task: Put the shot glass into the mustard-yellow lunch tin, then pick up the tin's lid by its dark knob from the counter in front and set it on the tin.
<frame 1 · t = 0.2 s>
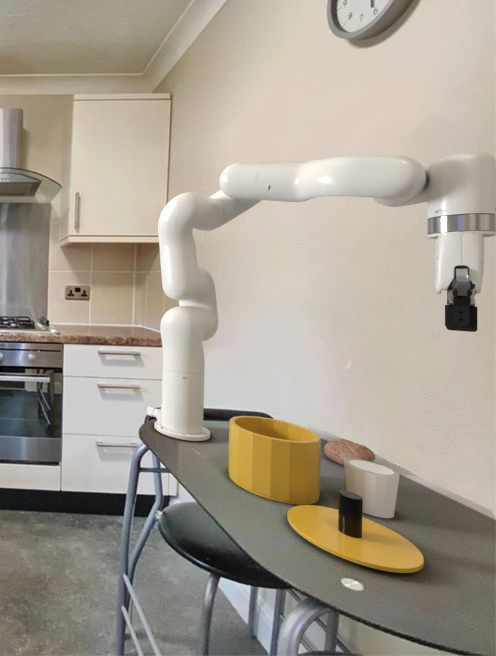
hand: (460, 329, 67), 31 cm above the table, tool pointing down, fingers open, 9 cm apart
tin: (271, 484, 75), on the table
bread roll: (348, 463, 86), on the table
lid: (349, 536, 58), point 1 cm above the table
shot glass: (370, 509, 68), on the table
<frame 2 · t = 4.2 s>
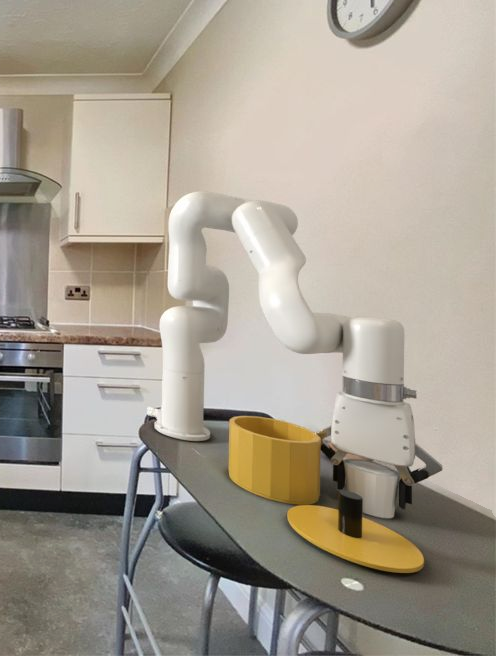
hand: (370, 495, 68), 2 cm above the table, tool pointing down, fingers closed on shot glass, 6 cm apart
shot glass: (370, 509, 68), on the table, touching gripper
everything else where it was.
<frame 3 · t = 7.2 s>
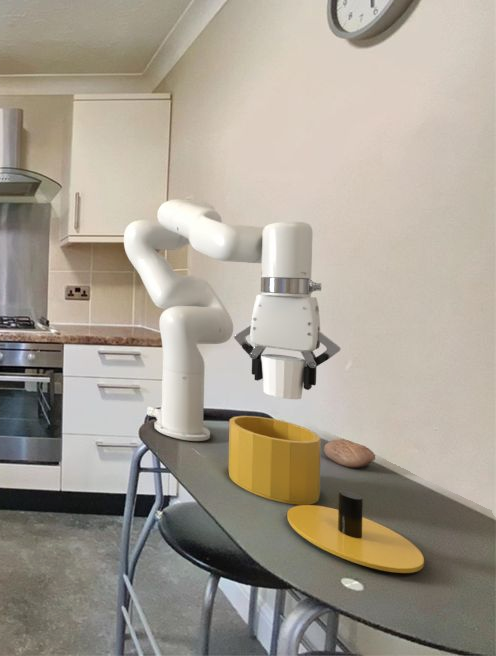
hand: (282, 383, 75), 19 cm above the table, tool pointing down, fingers closed on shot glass, 6 cm apart
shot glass: (282, 395, 75), point 17 cm above the table, touching gripper
everything else where it was.
when the fingers open (9 cm above the table, at t = 10.2 s): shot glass drops 6 cm, resting on tin.
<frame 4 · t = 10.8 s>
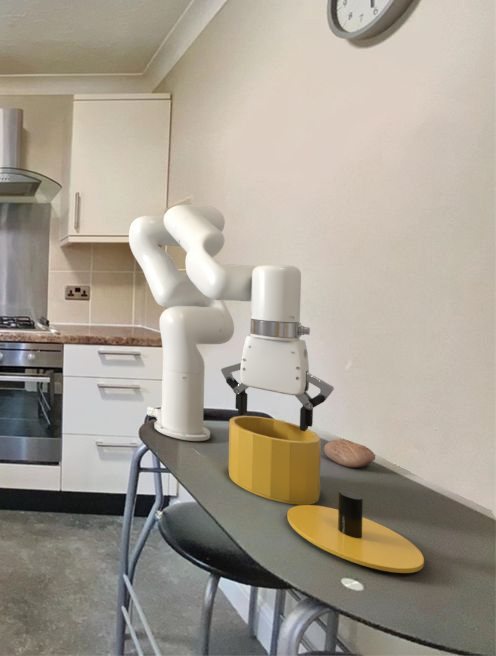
hand: (271, 421, 75), 12 cm above the table, tool pointing down, fingers open, 9 cm apart
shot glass: (269, 482, 75), resting on tin
everything else where it was.
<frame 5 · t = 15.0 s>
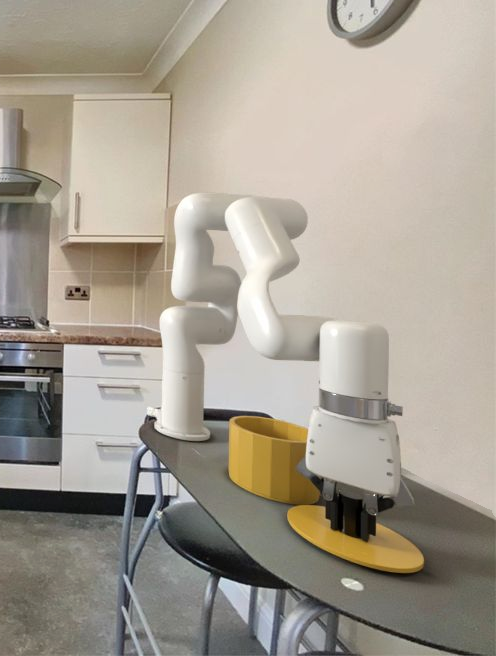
hand: (349, 530, 58), 1 cm above the table, tool pointing down, fingers closed on lid, 2 cm apart
lid: (349, 536, 58), point 1 cm above the table, touching gripper
everything else where it was.
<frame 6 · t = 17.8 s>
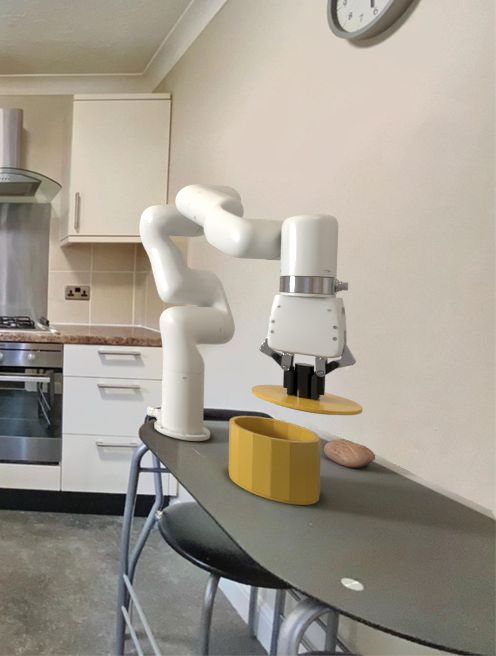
hand: (303, 395, 68), 19 cm above the table, tool pointing down, fingers closed on lid, 2 cm apart
lid: (303, 400, 68), point 18 cm above the table, touching gripper
everything else where it was.
when the fingers open (11 cm above the table, at t = 20.6 s): lid stays where it is, resting on tin.
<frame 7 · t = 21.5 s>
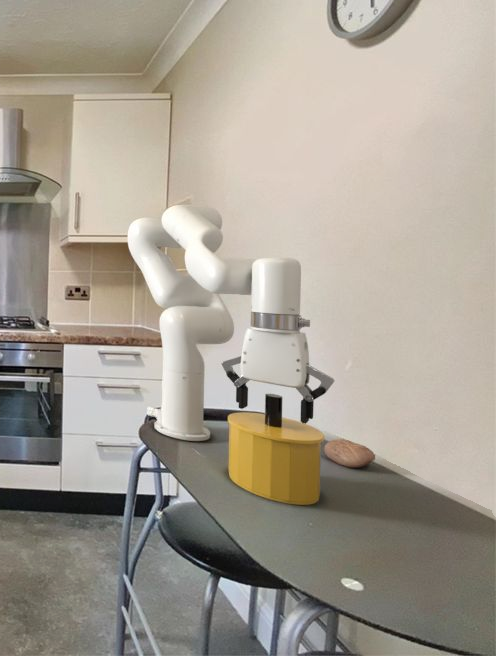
hand: (272, 414, 75), 13 cm above the table, tool pointing down, fingers open, 9 cm apart
lid: (273, 428, 75), point 10 cm above the table, touching tin
everything else where it was.
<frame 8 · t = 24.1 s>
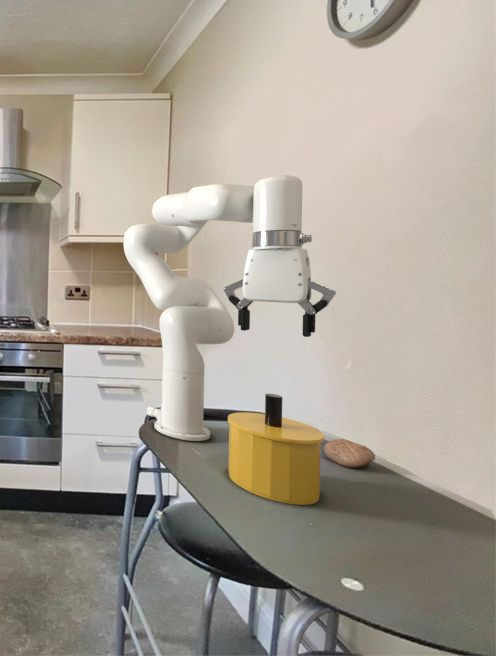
hand: (274, 333, 75), 28 cm above the table, tool pointing down, fingers open, 9 cm apart
nothing on the table moved.
at the end: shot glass inside the target area in the tin (0.3 cm from its centre), point 0.3 cm above the tin's base; lid 0.1 cm off-centre on the tin, point 10.5 cm above the tin's base; lid tilted 0° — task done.
